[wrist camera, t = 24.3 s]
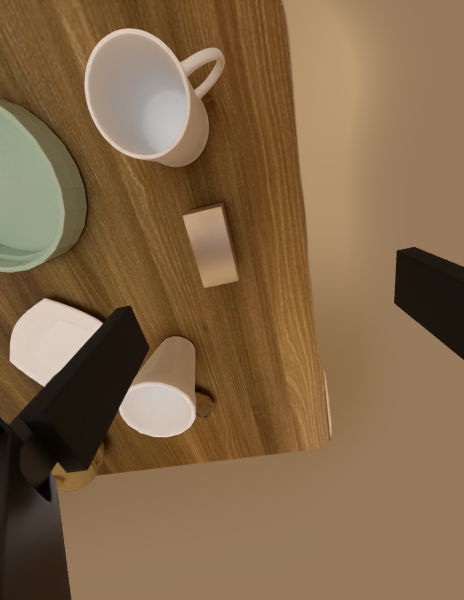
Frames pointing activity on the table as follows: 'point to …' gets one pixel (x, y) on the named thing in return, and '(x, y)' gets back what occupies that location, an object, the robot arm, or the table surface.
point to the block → (212, 244)
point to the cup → (163, 391)
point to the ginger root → (203, 405)
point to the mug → (149, 97)
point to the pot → (78, 474)
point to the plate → (49, 338)
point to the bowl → (36, 192)
